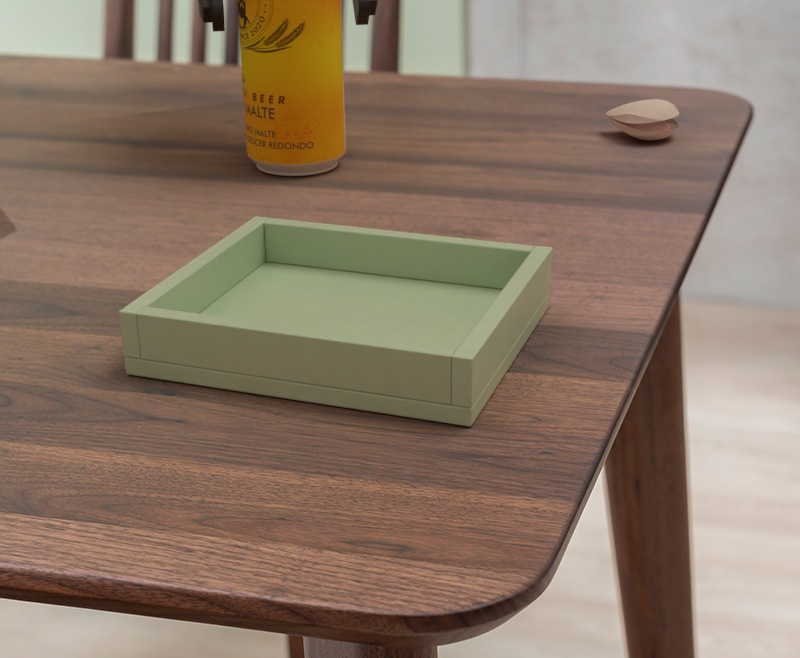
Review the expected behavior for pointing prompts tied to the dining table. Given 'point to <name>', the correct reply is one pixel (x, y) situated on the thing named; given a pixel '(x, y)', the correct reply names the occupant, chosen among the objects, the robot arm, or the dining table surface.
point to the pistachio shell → (645, 119)
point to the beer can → (293, 84)
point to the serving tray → (344, 317)
